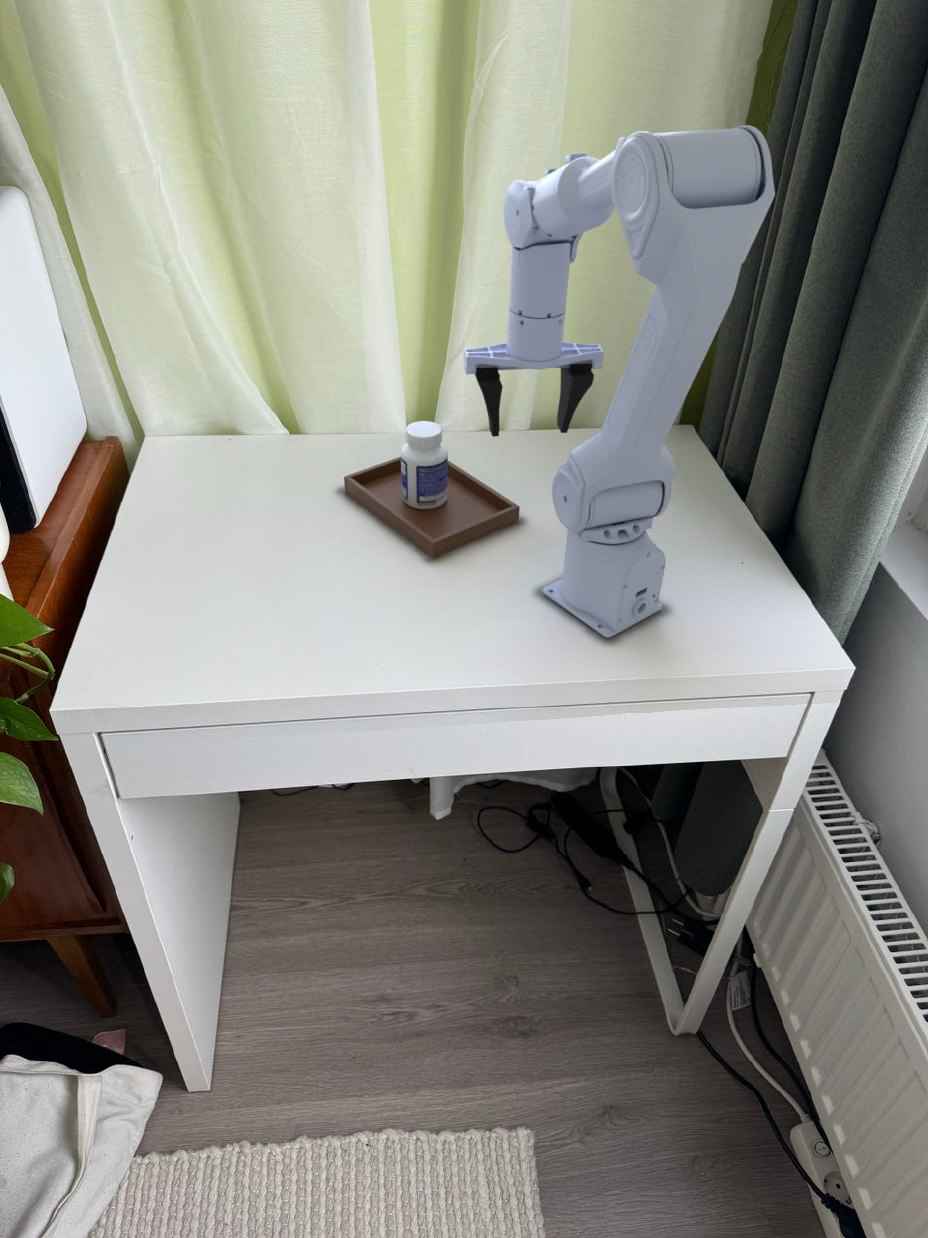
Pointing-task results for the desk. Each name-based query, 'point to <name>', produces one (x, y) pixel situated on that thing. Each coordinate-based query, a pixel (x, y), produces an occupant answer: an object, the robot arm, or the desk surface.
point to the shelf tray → (439, 528)
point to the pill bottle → (424, 466)
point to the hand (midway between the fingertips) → (528, 430)
